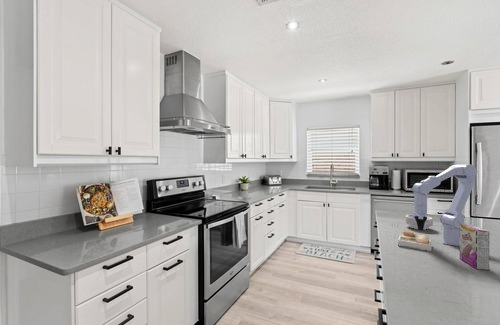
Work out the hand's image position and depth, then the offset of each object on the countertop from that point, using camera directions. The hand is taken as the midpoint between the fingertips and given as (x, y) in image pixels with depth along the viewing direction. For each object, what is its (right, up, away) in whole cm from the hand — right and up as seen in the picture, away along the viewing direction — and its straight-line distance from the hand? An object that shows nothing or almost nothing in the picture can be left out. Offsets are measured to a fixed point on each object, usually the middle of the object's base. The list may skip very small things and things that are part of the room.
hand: (420, 229), depth 132 cm
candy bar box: (+4, -8, -27) cm, 29 cm away
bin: (-6, -7, -4) cm, 10 cm away
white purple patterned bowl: (+20, -8, +31) cm, 38 cm away
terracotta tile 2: (-1, -5, +8) cm, 10 cm away
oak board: (+1, -7, +6) cm, 9 cm away
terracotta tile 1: (-2, -7, -3) cm, 8 cm away
